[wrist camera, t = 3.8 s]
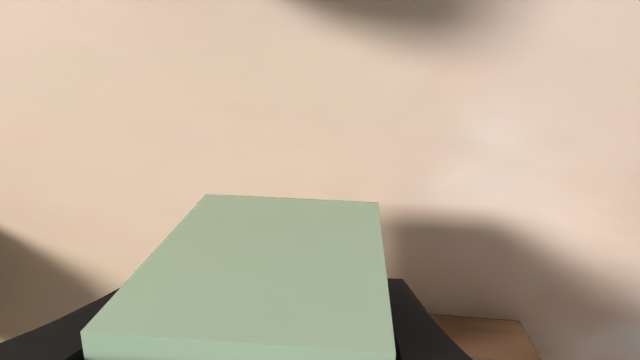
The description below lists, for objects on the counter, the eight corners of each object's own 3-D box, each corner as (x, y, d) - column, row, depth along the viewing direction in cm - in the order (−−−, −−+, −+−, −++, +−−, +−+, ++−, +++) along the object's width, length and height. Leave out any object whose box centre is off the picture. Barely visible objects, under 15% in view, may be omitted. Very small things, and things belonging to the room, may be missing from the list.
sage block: (378, 202, 12) (396, 353, 7) (368, 350, 14) (376, 582, 8) (206, 194, 13) (80, 331, 7) (213, 339, 14) (113, 555, 8)
